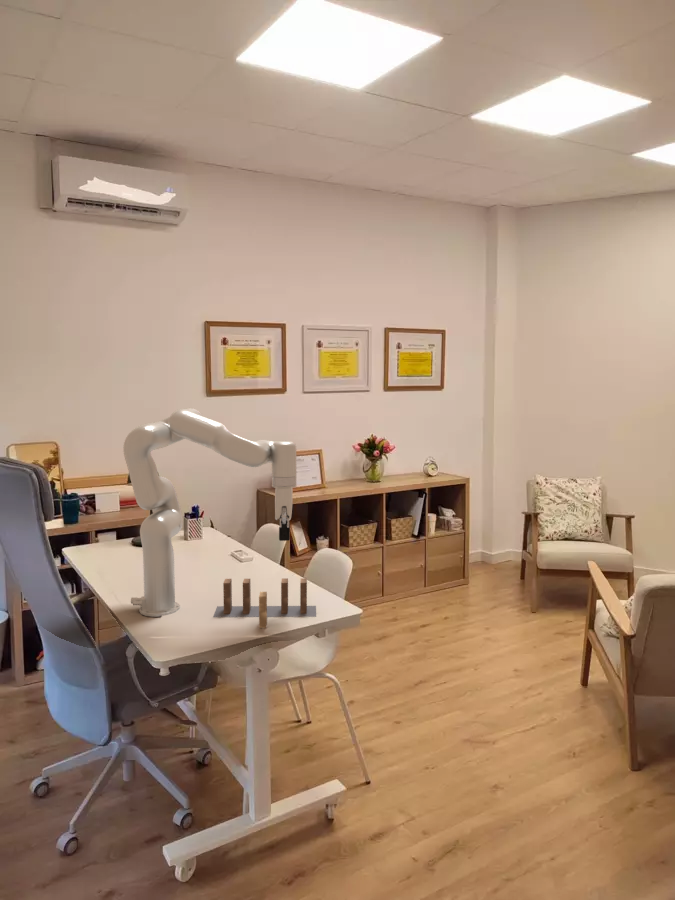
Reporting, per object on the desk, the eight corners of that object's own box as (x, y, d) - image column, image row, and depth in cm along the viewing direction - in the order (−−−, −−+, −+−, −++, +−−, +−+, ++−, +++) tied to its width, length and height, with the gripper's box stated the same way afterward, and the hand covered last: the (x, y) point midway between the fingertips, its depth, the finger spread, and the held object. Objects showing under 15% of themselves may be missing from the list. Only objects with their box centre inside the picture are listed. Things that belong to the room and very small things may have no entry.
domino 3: (259, 629, 205) (259, 596, 204) (260, 623, 210) (260, 591, 208) (265, 629, 205) (265, 596, 204) (266, 623, 210) (266, 591, 208)
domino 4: (281, 613, 217) (281, 582, 216) (281, 608, 222) (281, 578, 220) (287, 613, 217) (287, 582, 216) (288, 608, 222) (288, 578, 221)
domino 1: (223, 614, 216) (223, 583, 215) (225, 609, 221) (225, 578, 220) (230, 614, 216) (229, 583, 215) (231, 609, 221) (231, 578, 220)
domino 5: (300, 613, 217) (300, 582, 216) (300, 608, 222) (300, 578, 221) (306, 613, 217) (306, 582, 216) (306, 608, 222) (306, 578, 221)
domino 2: (242, 613, 217) (242, 583, 215) (244, 608, 221) (244, 578, 220) (249, 613, 217) (249, 582, 216) (250, 608, 221) (250, 578, 220)
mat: (212, 618, 214) (212, 617, 214) (217, 607, 224) (217, 606, 224) (316, 617, 215) (316, 616, 215) (316, 606, 225) (316, 605, 225)
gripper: (272, 477, 219) (273, 530, 221) (271, 486, 202) (271, 543, 204) (296, 477, 219) (296, 530, 221) (296, 486, 202) (297, 543, 204)
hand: (284, 536), depth 213 cm, fingers open, 9 cm apart
